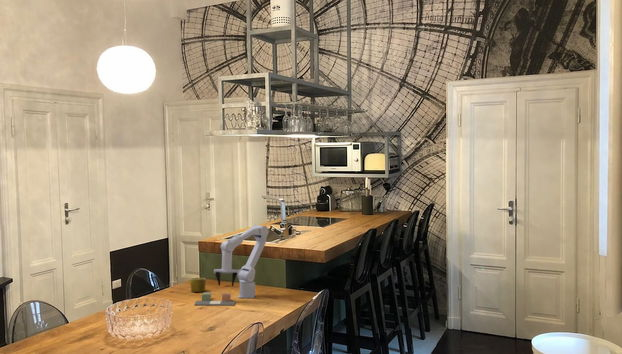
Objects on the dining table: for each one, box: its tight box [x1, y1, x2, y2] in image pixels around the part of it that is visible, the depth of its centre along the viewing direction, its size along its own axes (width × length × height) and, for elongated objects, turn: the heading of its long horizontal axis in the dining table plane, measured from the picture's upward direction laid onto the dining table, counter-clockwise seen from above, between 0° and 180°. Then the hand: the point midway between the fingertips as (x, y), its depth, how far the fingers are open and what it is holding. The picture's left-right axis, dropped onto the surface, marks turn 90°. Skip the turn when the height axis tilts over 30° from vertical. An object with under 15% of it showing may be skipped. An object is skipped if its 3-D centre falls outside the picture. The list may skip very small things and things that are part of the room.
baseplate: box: [194, 300, 236, 307], centre depth 288 cm, size 22×8×1 cm, turn 94°
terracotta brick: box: [221, 292, 232, 301], centre depth 296 cm, size 5×5×4 cm
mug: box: [190, 277, 207, 293], centre depth 317 cm, size 12×10×10 cm
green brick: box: [201, 291, 212, 301], centre depth 295 cm, size 5×5×4 cm
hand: (226, 285), depth 296 cm, fingers open, 7 cm apart
